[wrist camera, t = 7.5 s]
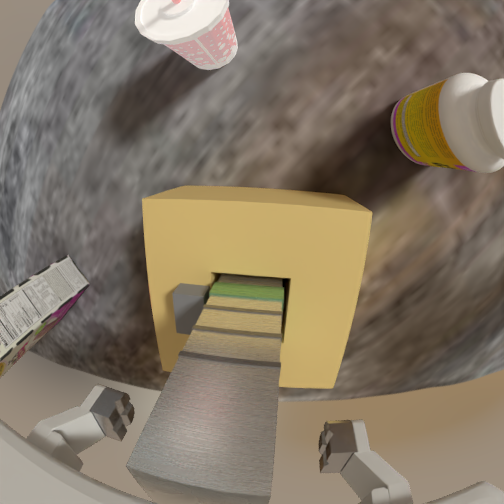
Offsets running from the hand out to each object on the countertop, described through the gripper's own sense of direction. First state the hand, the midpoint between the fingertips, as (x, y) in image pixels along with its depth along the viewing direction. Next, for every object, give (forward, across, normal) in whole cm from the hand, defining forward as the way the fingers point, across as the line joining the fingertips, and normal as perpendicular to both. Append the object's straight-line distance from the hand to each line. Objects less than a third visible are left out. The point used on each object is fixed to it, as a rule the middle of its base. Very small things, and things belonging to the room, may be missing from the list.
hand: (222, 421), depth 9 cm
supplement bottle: (+17, -14, -14) cm, 26 cm away
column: (+12, 0, 0) cm, 12 cm away
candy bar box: (+17, +25, +6) cm, 31 cm away
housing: (+17, 0, 0) cm, 17 cm away
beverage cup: (+17, +5, -20) cm, 27 cm away
